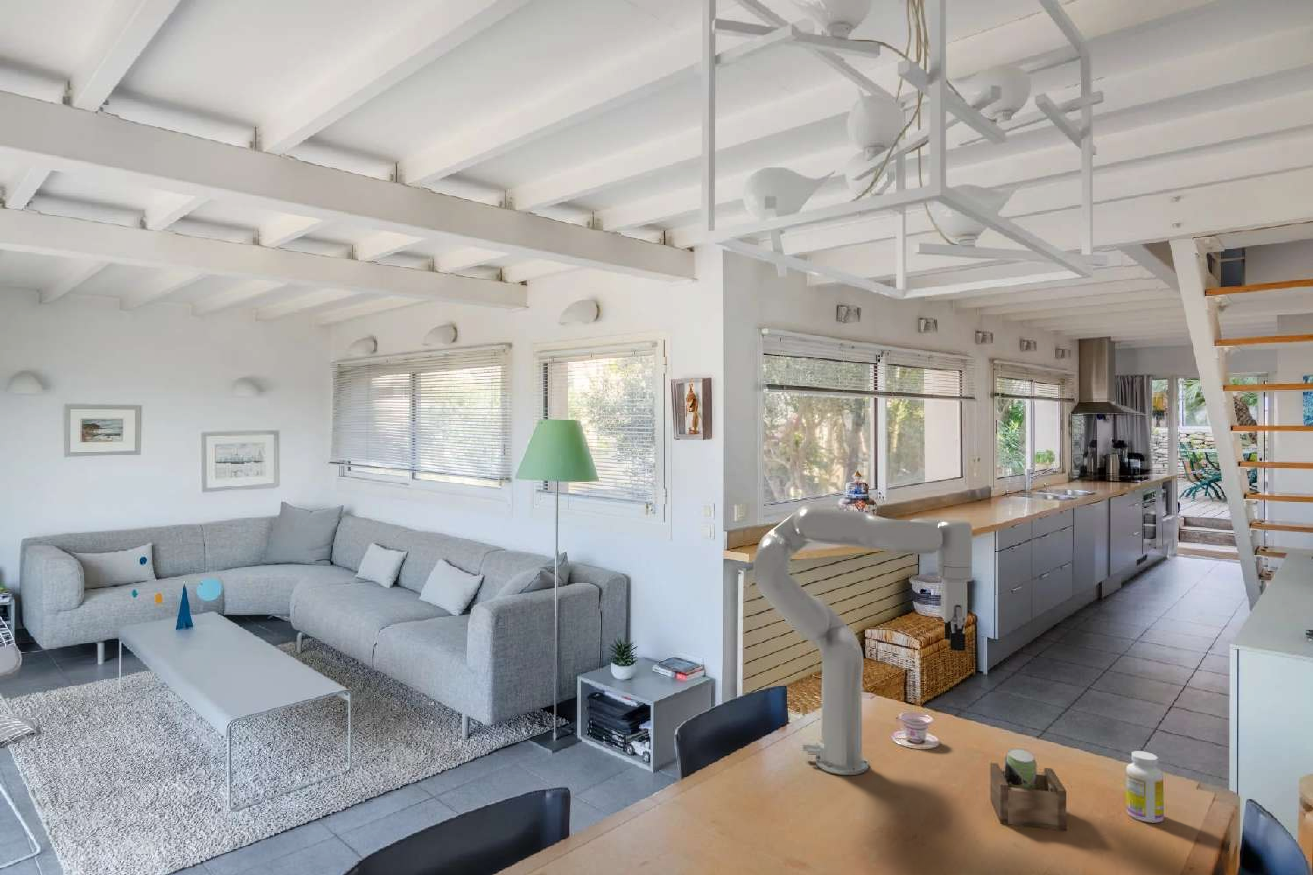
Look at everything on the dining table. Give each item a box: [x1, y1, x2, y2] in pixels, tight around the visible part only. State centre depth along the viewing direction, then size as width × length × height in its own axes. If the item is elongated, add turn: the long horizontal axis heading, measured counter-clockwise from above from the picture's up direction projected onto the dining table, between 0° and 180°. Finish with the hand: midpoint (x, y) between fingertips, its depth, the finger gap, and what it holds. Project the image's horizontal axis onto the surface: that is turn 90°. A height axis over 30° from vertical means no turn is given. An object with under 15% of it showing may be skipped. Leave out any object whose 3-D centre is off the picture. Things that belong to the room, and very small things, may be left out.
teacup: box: [891, 711, 941, 750], centre depth 203 cm, size 12×12×6 cm
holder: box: [989, 762, 1067, 832], centre depth 163 cm, size 12×11×8 cm
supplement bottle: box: [1125, 750, 1165, 824], centre depth 163 cm, size 7×7×13 cm
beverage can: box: [1004, 748, 1038, 790], centre depth 164 cm, size 6×7×12 cm
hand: (954, 644), depth 184 cm, fingers open, 9 cm apart
